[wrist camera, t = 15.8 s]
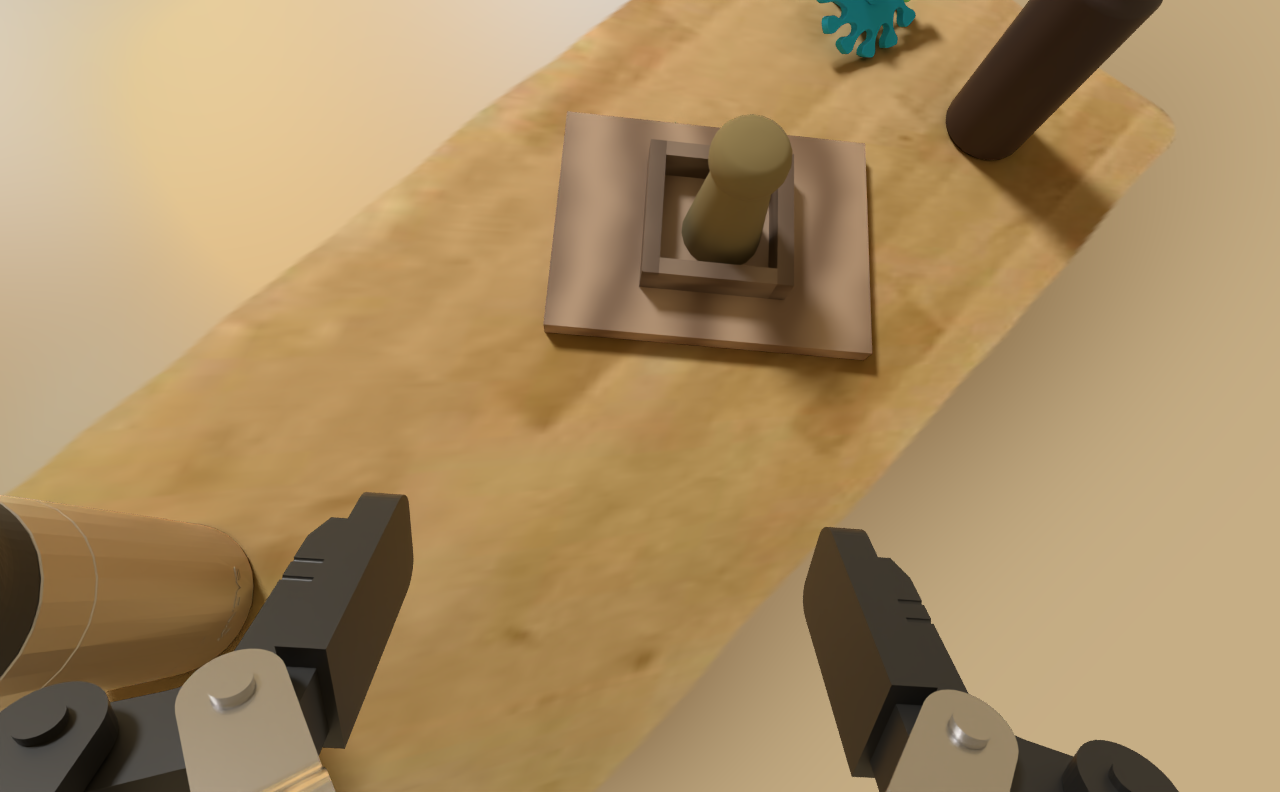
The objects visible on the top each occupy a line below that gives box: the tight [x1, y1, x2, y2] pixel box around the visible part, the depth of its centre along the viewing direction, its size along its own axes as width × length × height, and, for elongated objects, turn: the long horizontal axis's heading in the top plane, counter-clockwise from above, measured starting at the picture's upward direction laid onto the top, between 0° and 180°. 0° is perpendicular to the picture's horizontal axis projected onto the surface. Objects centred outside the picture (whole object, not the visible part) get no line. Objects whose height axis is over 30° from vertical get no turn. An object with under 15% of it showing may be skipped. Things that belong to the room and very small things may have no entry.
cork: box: [681, 114, 793, 265], centre depth 45 cm, size 6×6×11 cm
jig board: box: [543, 111, 872, 360], centre depth 50 cm, size 24×18×4 cm
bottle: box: [946, 0, 1163, 160], centre depth 47 cm, size 7×7×20 cm
